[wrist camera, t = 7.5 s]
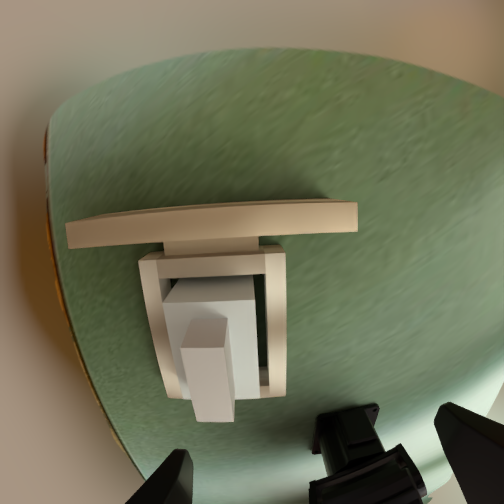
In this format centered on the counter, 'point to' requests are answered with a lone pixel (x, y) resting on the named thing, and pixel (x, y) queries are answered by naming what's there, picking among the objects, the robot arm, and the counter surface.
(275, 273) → the stand
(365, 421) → the robot arm
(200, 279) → the grey stepped block
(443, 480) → the counter surface
